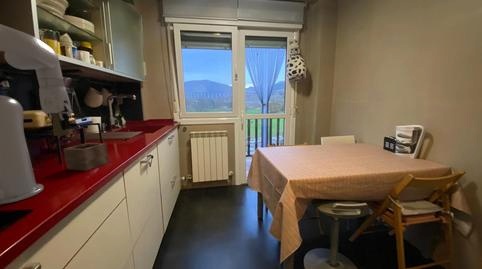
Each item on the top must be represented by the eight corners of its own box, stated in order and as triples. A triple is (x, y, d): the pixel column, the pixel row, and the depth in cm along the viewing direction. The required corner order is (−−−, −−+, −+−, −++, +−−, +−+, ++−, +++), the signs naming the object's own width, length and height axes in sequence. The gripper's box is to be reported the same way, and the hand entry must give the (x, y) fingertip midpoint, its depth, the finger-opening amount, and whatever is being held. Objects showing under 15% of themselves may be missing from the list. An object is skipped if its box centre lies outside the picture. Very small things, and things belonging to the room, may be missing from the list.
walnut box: (86, 170, 90) (82, 149, 88) (67, 168, 93) (63, 148, 91) (109, 162, 100) (105, 143, 98) (91, 161, 103) (87, 142, 101)
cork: (74, 132, 93) (68, 106, 91) (69, 134, 87) (63, 108, 85) (57, 133, 91) (51, 107, 88) (50, 136, 85) (44, 109, 83)
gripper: (25, 84, 83) (37, 131, 87) (57, 83, 79) (68, 131, 83) (46, 84, 90) (56, 127, 94) (77, 83, 86) (86, 127, 90)
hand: (62, 128), depth 89 cm, fingers closed on cork, 4 cm apart
